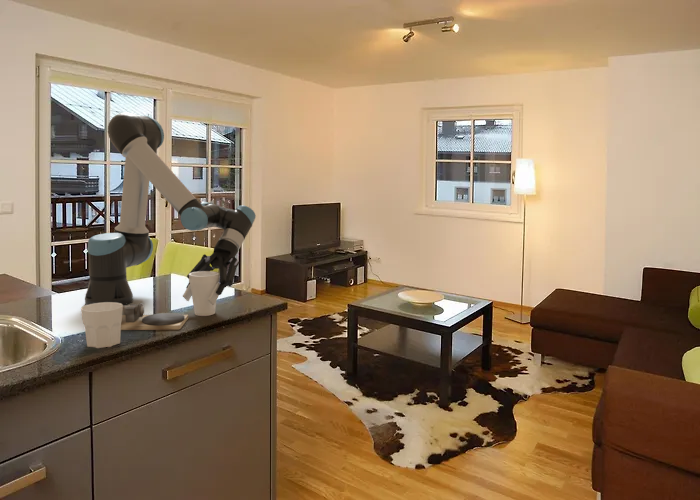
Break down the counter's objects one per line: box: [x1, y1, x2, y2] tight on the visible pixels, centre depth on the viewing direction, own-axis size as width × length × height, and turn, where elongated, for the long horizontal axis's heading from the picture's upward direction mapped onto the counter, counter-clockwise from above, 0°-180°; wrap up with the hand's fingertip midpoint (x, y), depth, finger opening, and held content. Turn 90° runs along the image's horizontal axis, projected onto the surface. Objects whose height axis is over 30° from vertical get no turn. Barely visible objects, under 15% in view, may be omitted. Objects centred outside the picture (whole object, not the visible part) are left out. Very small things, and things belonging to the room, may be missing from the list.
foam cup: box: [188, 270, 220, 317], centre depth 175 cm, size 10×9×13 cm
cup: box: [80, 302, 124, 349], centre depth 144 cm, size 10×10×10 cm
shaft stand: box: [121, 303, 189, 331], centre depth 163 cm, size 22×12×6 cm, turn 95°
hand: (198, 300), depth 173 cm, fingers closed on foam cup, 9 cm apart
